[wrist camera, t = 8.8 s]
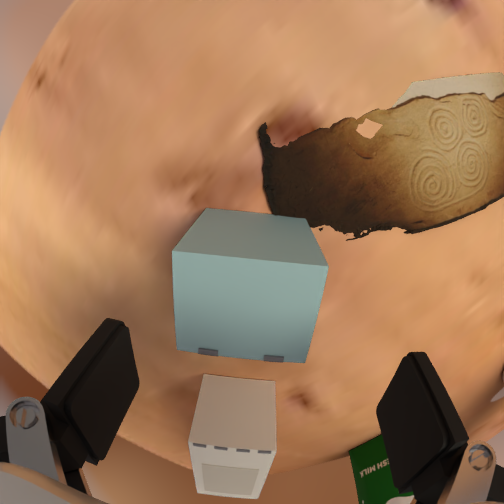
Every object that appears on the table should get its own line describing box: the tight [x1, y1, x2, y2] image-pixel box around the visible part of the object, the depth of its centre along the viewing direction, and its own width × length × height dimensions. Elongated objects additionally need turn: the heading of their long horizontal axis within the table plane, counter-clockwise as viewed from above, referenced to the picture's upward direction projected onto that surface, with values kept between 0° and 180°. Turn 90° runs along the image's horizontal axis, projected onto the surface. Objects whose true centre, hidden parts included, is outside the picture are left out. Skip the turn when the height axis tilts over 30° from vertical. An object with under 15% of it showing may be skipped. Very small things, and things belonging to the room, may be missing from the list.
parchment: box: [259, 72, 504, 241], centre depth 15 cm, size 25×10×1 cm, turn 111°
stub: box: [172, 208, 329, 363], centre depth 15 cm, size 6×5×7 cm
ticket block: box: [188, 374, 277, 499], centre depth 21 cm, size 6×12×7 cm, turn 175°
